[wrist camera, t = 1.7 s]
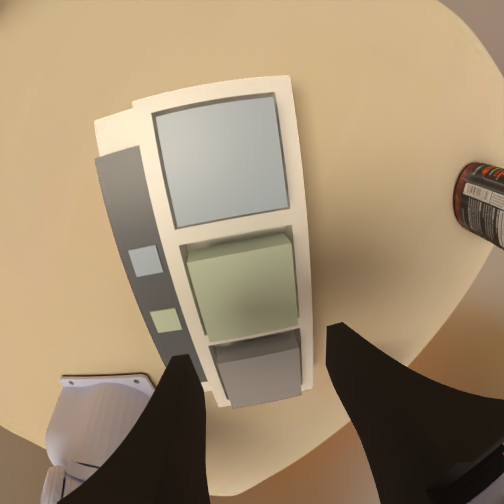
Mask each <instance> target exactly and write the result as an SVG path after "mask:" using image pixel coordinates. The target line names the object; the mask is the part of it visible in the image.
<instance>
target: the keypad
mask: <svg viewBox="0 0 504 504" xmlns="http://www.w3.org/2000/svg"><path fill="white" fill-rule="evenodd" d="M268 97H273V99H274V105H275V112H276V119H277V126H278V133H279V140H280V148H281V155H282V163H283V171H284V179H285V188H286V196H287V205H288V207H285V208H279V209H273V210H267V211H262V212H256V213H250V214H244V215H239V216H233V217H228V218H223V219H217V220H212V221H207V222H202V223H196V224H191V225H186V226H181V227H178V226H177V221H176V217H175V213H174V208H173V204H172V199H171V195H170V190H169V186H168V181H167V176H166V171H165V166H164V161H163V156H162V150H161V145H160V139H159V134H158V128H157V122H156V117H157V116H161V115H166V114H170V113H174V112H179V111H183V110H188V109H193V108H198V107H203V106H209V105H215V104H221V103H227V102H234V101H241V100H249V99H258V98H268ZM132 104H133V108H132V109H128V110H125V111H122V112H119V113H116V114H113V115H110V116H107V117H104V118H101V119H98V120H95V121H94V126H95V132H96V138H97V144H98V149H99V154H100V157H98V158H95V164H96V169H97V173H98V178H99V182H100V187H101V191H102V195H103V199H104V203H105V206H106V210H107V214H108V218H109V221H110V225H111V228H112V231H113V235H114V238H115V241H116V244H117V248H118V251H119V254H120V257H121V260H122V263H123V266H124V269H125V272H126V274H127V277H128V280H129V283H130V285H131V288H132V291H133V293H134V296H135V299H136V301H137V304H138V306H139V309H140V311H141V314H142V316H143V318H144V321H145V323H146V326H147V328H148V330H149V332H150V335H151V337H152V339H153V341H154V344H155V346H156V348H157V350H158V352H159V354H160V357H161V359H162V361H163V363H164V365H165V367H167V365H168V363H169V361H170V359H171V357H172V356H176V355H184V354H189V355H190V358H191V360H192V363H193V365H194V368H195V370H196V372H197V375H198V377H199V380H200V382H201V384H202V387H203V389H204V392H205V391H212V393H213V395H214V397H215V400H216V402H217V404H218V407H224V406H231V403H230V400H229V397H228V394H227V392H226V389H225V386H224V383H223V380H222V377H221V374H220V371H219V369H218V366H217V356H216V348H219V347H225V346H230V345H236V344H241V343H247V342H252V341H257V340H262V339H267V338H272V337H276V336H281V335H286V334H290V333H294V336H295V338H296V341H297V343H298V345H299V351H300V371H301V391H304V390H308V389H312V388H313V314H312V287H311V267H310V251H309V236H308V223H307V211H306V199H305V189H304V179H303V170H302V161H301V152H300V144H299V136H298V128H297V121H296V114H295V107H294V100H293V94H292V87H291V81H290V75H280V76H266V77H255V78H245V79H237V80H229V81H222V82H216V83H210V84H204V85H198V86H193V87H188V88H183V89H178V90H174V91H170V92H165V93H161V94H157V95H153V96H150V97H146V98H142V99H139V100H135V101H132ZM282 233H284V234H285V235H286V236H287V238H288V239H289V240H290V242H291V244H292V255H293V266H294V278H295V290H296V303H297V318H298V325H297V326H293V327H288V328H284V329H279V330H275V331H270V332H265V333H260V334H255V335H250V336H245V337H239V338H234V339H228V340H223V341H217V342H211V343H210V341H209V338H208V335H207V332H206V328H205V325H204V322H203V318H202V315H201V312H200V308H199V305H198V302H197V298H196V295H195V291H194V288H193V284H192V280H191V277H190V273H189V269H188V265H187V259H188V253H189V251H191V250H196V249H201V248H206V247H212V246H217V245H222V244H227V243H233V242H238V241H244V240H249V239H254V238H260V237H265V236H271V235H276V234H282Z"/></svg>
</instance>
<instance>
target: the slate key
mask: <svg viewBox="0 0 504 504" xmlns="http://www.w3.org/2000/svg"><path fill="white" fill-rule="evenodd" d="M156 122H157V128H158V134H159V139H160V145H161V150H162V156H163V161H164V166H165V171H166V176H167V181H168V186H169V190H170V195H171V199H172V204H173V208H174V213H175V217H176V221H177V226H178V227H181V226H186V225H191V224H196V223H202V222H207V221H212V220H217V219H223V218H228V217H233V216H239V215H244V214H250V213H256V212H262V211H267V210H273V209H279V208H285V207H288V205H287V196H286V188H285V179H284V171H283V163H282V155H281V148H280V140H279V133H278V126H277V119H276V112H275V105H274V99H273V97H268V98H258V99H249V100H241V101H234V102H227V103H221V104H215V105H209V106H203V107H198V108H193V109H188V110H183V111H179V112H174V113H170V114H166V115H161V116H157V117H156Z"/></svg>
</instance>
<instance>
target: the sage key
mask: <svg viewBox="0 0 504 504" xmlns="http://www.w3.org/2000/svg"><path fill="white" fill-rule="evenodd" d="M187 265H188V269H189V273H190V277H191V280H192V284H193V288H194V291H195V295H196V298H197V302H198V305H199V308H200V312H201V315H202V318H203V322H204V325H205V328H206V332H207V335H208V338H209V341H210V343H211V342H217V341H223V340H228V339H234V338H239V337H245V336H250V335H255V334H260V333H265V332H270V331H275V330H279V329H284V328H288V327H293V326H297V325H298V318H297V303H296V290H295V278H294V266H293V255H292V244H291V242H290V240H289V239H288V238H287V236H286V235H285V234H284V233H282V234H276V235H271V236H265V237H260V238H254V239H249V240H244V241H238V242H233V243H227V244H222V245H217V246H212V247H206V248H201V249H196V250H191V251H189V253H188V259H187Z"/></svg>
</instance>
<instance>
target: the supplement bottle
mask: <svg viewBox="0 0 504 504" xmlns="http://www.w3.org/2000/svg"><path fill="white" fill-rule="evenodd" d="M454 202H455V203H454V205H455V212H456V216H457V219H458V221H459V222H460V224H461V225H462V226H463V227H464V228H466V229H468V230H469V231H471V232H473V233H474V234H476V235H478V236H480V237H482V238H484V239H485V240H487V241H489V242H491V243H493V244H494V245H496V246H498V247H499V248H501V249H503V250H504V169H502V168H499V167H495V166H491V165H487V164H484V163H472V164H470V165H468V166H467V167H466V168H465V169H464V170H463V172H462V173H461V175H460V177H459V179H458V182H457V186H456V190H455V197H454Z"/></svg>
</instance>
